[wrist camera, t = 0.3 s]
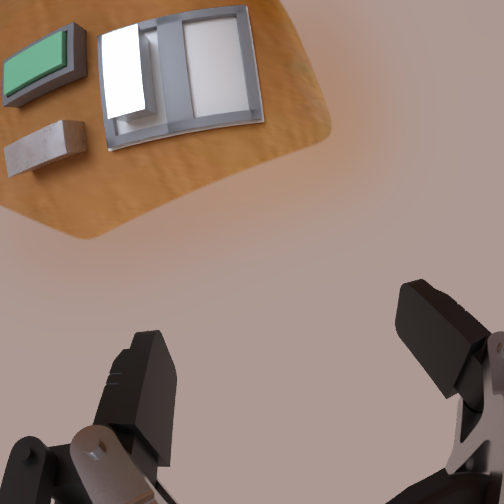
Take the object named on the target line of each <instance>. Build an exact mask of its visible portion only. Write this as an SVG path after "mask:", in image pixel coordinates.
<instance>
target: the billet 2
mask: <svg viewBox="0 0 504 504" xmlns="http://www.w3.org/2000/svg"><path fill="white" fill-rule="evenodd" d="M102 57H103V73H104V86H105V96H106V106H107V114H108V119H111V120H117V121H123V122H128V121H132V120H136V119H139V118H143V117H147V116H151V115H156V114H157V107H156V99H155V91H154V82H153V73H152V63H151V52H150V41H149V40H148V38H147V37H146V35H145V34H144V33H143V31H142V30H141V28H140V27H139V26H138V24H136V25H132V26H129V27H126V28H122V29H119V30H116V31H113V32H110V33H107V34H105V35H102Z"/></svg>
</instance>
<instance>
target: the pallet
mask: <svg viewBox="0 0 504 504" xmlns="http://www.w3.org/2000/svg"><path fill="white" fill-rule="evenodd" d="M136 24H138V26H139V27H140V28H141V30H142V31H143V33H144V34H145V35H146V37H147V38H148V40H149V41H150V52H151V63H152V73H153V82H154V91H155V99H156V107H157V114H156V115H151V116H147V117H143V118H139V119H136V120H132V121H128V122H123V121H117V120H111V119H108V114H107V106H106V96H105V86H104V73H103V57H102V35H105V34H107V33H110V32H113V31H116V30H119V29H122V28H126V27H129V26H132V25H136ZM136 24H132V25H129V26H125V27H122V28H119V29H116V30H113V31H110V32H107V33H104V34H102V35H99V36H97V39H98V65H99V80H100V92H101V102H102V111H103V119H104V126H105V134H106V140H107V147H108V149H109V151H113V150H117V149H121V148H124V147H128V146H132V145H136V144H140V143H144V142H148V141H153V140H157V139H161V138H166V137H171V136H176V135H181V134H186V133H191V132H197V131H203V130H209V129H215V128H221V127H228V126H236V125H243V124H252V123H261V122H264V114H263V107H262V99H261V92H260V85H259V78H258V71H257V64H256V58H255V51H254V45H253V38H252V32H251V26H250V19H249V13H248V7H246V6H245V5H236V6H225V7H215V8H208V9H201V10H194V11H188V12H183V13H177V14H172V15H168V16H163V17H159V18H155V19H150V20H147V21H143V22H139V23H136Z"/></svg>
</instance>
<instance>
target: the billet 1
mask: <svg viewBox="0 0 504 504" xmlns="http://www.w3.org/2000/svg"><path fill="white" fill-rule="evenodd" d="M87 150H88V149H87V143H86V136H85V129H84V122H83V121H71V120H60V121H58V122H56V123H53V124H51V125H49V126H47V127H44V128H42V129H40V130H38V131H36V132H34V133H32V134H30V135H27V136H25V137H23V138H22V139H20V140H18V141H16V142H14V143H12V144H10V145H8V146H6V147H5V148H4V153H5V160H6V166H7V172H8V178H9V177H13V176H16V175H20V174H23V173H27V172H31V171H34V170H36V169H38V168H41V167H43V166H46V165H48V164H51V163H54V162H56V161H59V160H61V159H64V158H67V157H70V156H73V155H75V154H78V153H81V152H84V151H87Z"/></svg>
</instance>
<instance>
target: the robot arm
mask: <svg viewBox="0 0 504 504" xmlns="http://www.w3.org/2000/svg"><path fill="white" fill-rule="evenodd" d="M395 326H396V331H397V334H398V336H399V337H400V338H401V340H402V341H403V342H404V343H405V345H406V346H407V347H408V348H409V350H410V351H411V352H412V354H413V355H414V356H415V358H416V359H417V360H418V362H419V363H420V364H421V365H422V367H423V368H424V369H425V371H426V372H427V373H428V374H429V376H430V377H431V379H432V380H433V381H434V383H435V384H436V385H437V387H438V388H439V390H440V391H441V392H442V394H443V395H444V396H445V398H446V399H447V398H449V397H451V396H453V395H455V394H457V393H459V394H460V395H461V397H460V399H459V401H458V410H457V423H456V431H455V440H454V447H453V451H452V454H451V456H450V458H449V460H448V462H447V464H446V467H445V468H443V469H441V470H440V471H438V472H436V473H434V474H433V475H431V476H429V477H427V478H425V479H424V480H421V481H420V482H417V483H415V484H413V485H411V486H409V487H408V488H406V489H405V490H404V491H402V492H401V493H400V494H398V495H397V496H396V497H395V498H393V499H392V500H390V501H389V502H387V503H386V504H504V332H495V333H493V334H492V333H491V332H489V331H488V330H487V329H486V328H485V327H484V326H483V325H482V324H481V323H480V322H478V320H476V319H475V318H474V317H473V316H472V315H471V314H470V313H468V312H467V311H465V309H464V308H463V307H461V305H459V304H457V302H456V301H455V300H454V299H452V298H451V297H450V296H449V295H447V294H445V293H443V292H441V291H439V290H436V289H435V288H433V287H432V286H431V285H430V284H429V283H427V282H426V281H425V280H423V279H419V280H415V281H412V282H408V283H404V284H403V285H402V286H401V288H400V294H399V300H398V308H397V313H396V319H395ZM176 386H177V375H176V369H175V366H174V363H173V361H172V359H171V356H170V354H169V351H168V349H167V346H166V343H165V341H164V338H163V336H162V334H161V332H160V331H159V330H155V331H145V332H137V333H135V335H134V338H133V340H132V343H131V347H130V349H123V350H122V352H121V353H120V354H119V355H118V356H117V358H116V359H115V360H114V362H113V364H112V367H111V370H110V375H109V376H108V379H107V382H106V386H105V387H104V390H103V394H102V397H101V400H100V403H99V406H98V409H97V412H96V416H95V419H94V423H93V425H91V426H87V427H85V428H83V429H82V430H80V431H79V432H78V433H77V434H76V435H75V436H74V438H73V439H72V442H71V443H70V444H65V445H59V446H53V447H47V446H46V445H45V444H44V443H43V442H42V441H41V440H40V439H38V438H36V437H33V436H27V437H24V438H22V439H20V440H19V441H18V442H16V443H15V445H14V446H13V448H12V450H11V453H10V456H9V459H8V462H7V466H6V469H5V473H4V476H3V480H2V484H1V488H0V504H50V503H51V498H53V499H54V500H55V504H179V503H178V502H177V501H176V500H175V499H174V498H173V497H172V495H171V494H170V493H169V492H168V490H167V489H166V488H165V487H164V486H163V484H162V483H161V482H160V481H159V479H158V478H157V467H158V466H160V467H170V458H171V443H172V429H173V417H174V405H175V395H176Z"/></svg>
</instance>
